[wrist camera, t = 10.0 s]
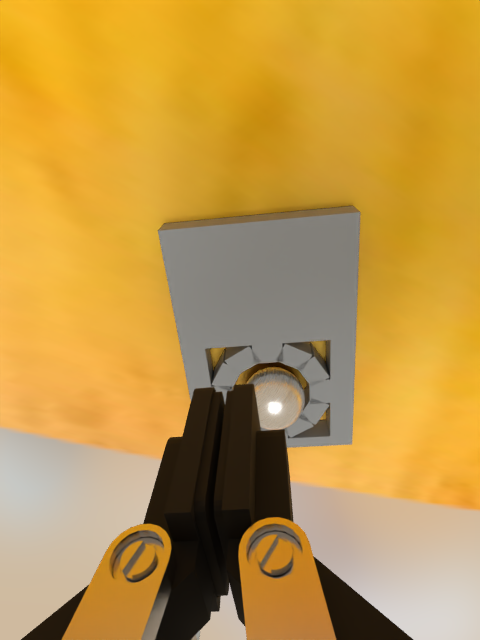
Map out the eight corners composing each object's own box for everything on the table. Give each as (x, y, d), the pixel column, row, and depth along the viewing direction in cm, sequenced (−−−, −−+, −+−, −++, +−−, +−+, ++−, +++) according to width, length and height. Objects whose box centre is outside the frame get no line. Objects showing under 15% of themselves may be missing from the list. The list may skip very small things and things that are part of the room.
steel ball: (269, 421, 43) (228, 387, 41) (309, 382, 42) (268, 346, 40) (278, 454, 37) (231, 416, 35) (325, 410, 36) (278, 369, 34)
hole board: (353, 205, 33) (360, 211, 31) (347, 427, 44) (352, 444, 41) (164, 223, 34) (157, 230, 32) (203, 435, 45) (200, 451, 43)
